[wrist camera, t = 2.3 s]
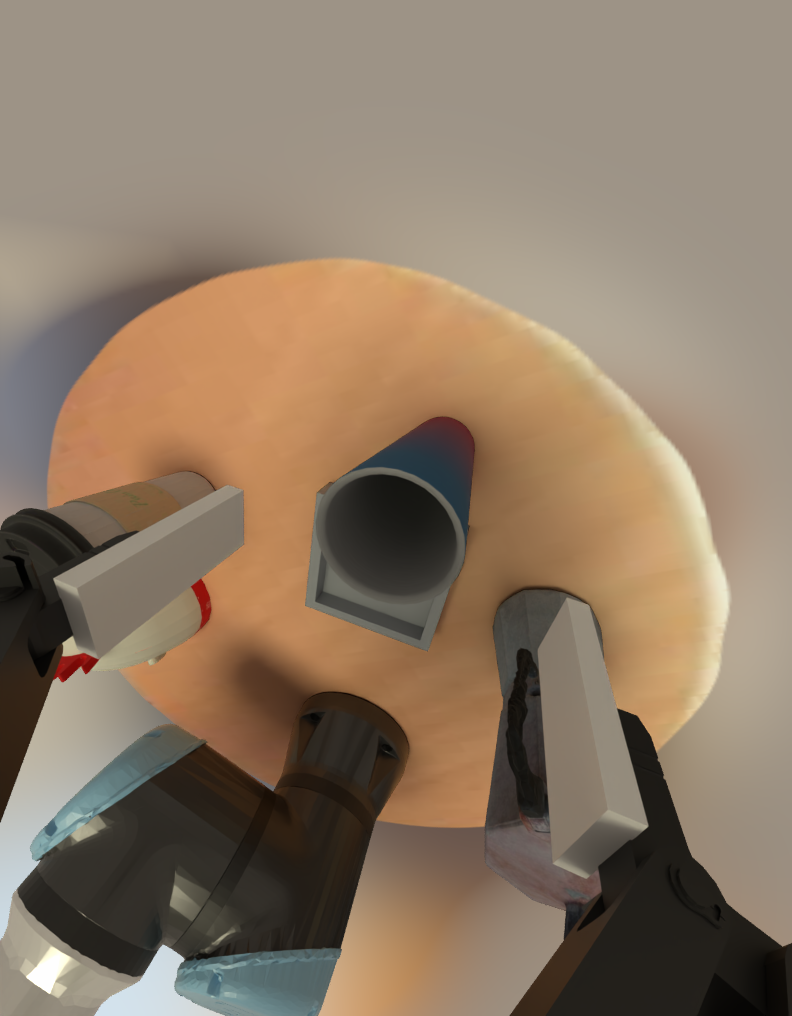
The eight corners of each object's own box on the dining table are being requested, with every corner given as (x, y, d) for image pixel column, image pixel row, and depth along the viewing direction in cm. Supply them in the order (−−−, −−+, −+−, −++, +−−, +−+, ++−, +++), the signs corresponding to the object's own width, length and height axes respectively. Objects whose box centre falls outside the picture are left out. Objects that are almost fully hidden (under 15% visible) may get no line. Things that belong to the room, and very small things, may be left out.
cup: (402, 486, 31) (325, 595, 18) (399, 404, 28) (304, 463, 15) (484, 490, 29) (463, 615, 16) (489, 404, 27) (468, 470, 14)
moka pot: (525, 692, 37) (538, 1008, 20) (453, 572, 33) (391, 828, 16) (628, 674, 33) (761, 1056, 15) (558, 535, 29) (629, 829, 12)
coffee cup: (202, 441, 35) (19, 505, 22) (250, 526, 38) (113, 627, 25) (142, 469, 39) (-44, 537, 26) (190, 544, 42) (43, 640, 29)
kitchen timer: (101, 538, 46) (-62, 619, 33) (186, 539, 42) (38, 632, 29) (146, 625, 51) (22, 725, 38) (225, 634, 47) (116, 749, 34)
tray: (432, 633, 37) (427, 651, 35) (316, 590, 39) (305, 605, 37) (469, 525, 31) (466, 540, 29) (329, 482, 33) (316, 492, 31)
